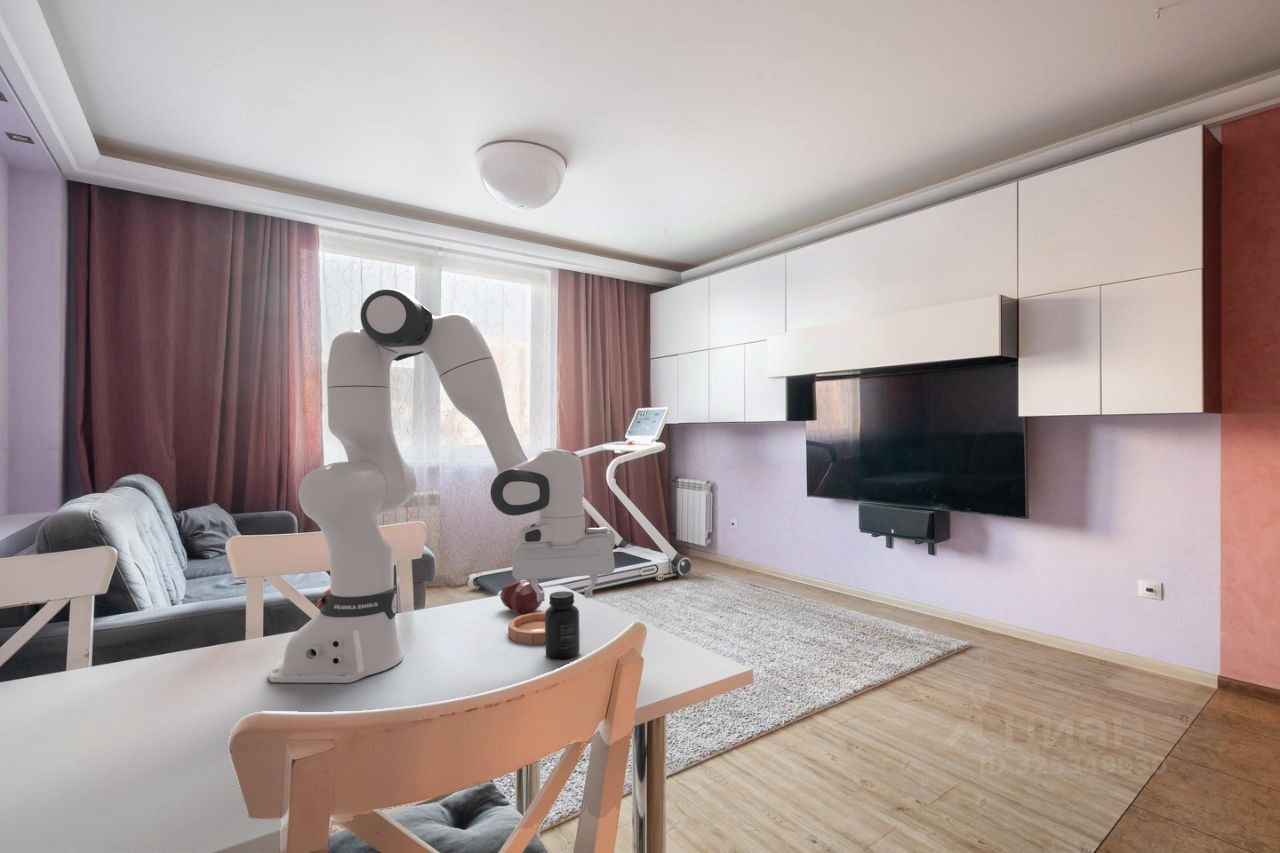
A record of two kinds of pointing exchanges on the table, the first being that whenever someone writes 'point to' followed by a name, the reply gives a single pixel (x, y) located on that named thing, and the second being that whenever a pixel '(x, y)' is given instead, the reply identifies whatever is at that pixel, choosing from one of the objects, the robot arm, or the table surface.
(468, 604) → the table surface
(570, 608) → the supplement bottle
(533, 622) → the tray
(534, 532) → the robot arm
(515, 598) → the heart
